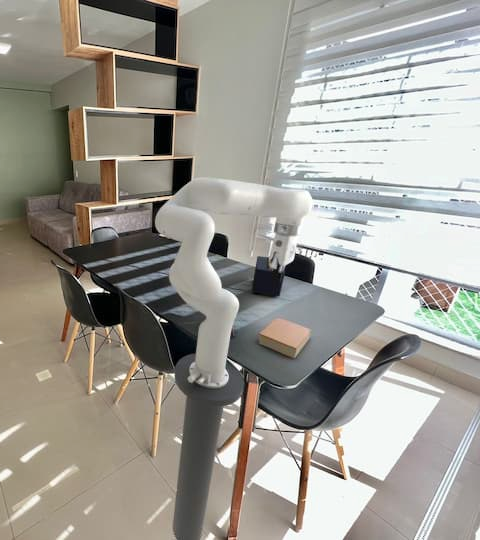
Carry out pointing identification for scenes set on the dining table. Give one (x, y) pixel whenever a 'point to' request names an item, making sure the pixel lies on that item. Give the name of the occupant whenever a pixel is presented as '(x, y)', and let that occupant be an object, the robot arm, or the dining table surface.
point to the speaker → (265, 278)
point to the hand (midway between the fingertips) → (275, 281)
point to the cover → (286, 333)
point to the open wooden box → (282, 346)
